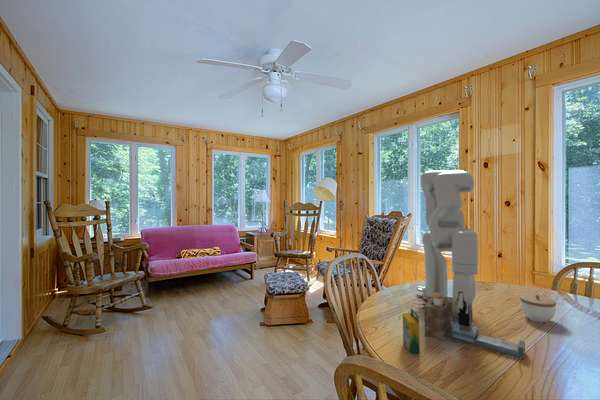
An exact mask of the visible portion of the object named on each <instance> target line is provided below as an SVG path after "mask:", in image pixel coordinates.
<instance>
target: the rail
mask: <svg viewBox="0 0 600 400" xmlns="http://www.w3.org/2000/svg"><path fill="white" fill-rule="evenodd" d="M453 329H454V327H453V326H452V327H449V328H448V330H447V331H446V338H445V339H449V340H453V341H456V342H460V343H464V344H466V345H469V346H473V347H477V348H480V349H484V350H487V351H492V352H495V353H498V354H502V355H506V356H508V355H509V357H512V356H513V357H512V358H515V357H517V358H516V359H519V358H521V359H520V360H522V359H523V360H524V359H525V354H526V341H524V340H519V343H513V342H510V341H506V340H502V339H498V338H495V337H490V336H486V335H483V334H479V333H478V334H477V335H476V337H475V338H474V343H473V342H470V341H466V340H462V339H459V338H455V337H453Z"/></svg>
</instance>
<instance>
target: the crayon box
mask: <svg viewBox="0 0 600 400" xmlns="http://www.w3.org/2000/svg"><path fill="white" fill-rule="evenodd" d="M415 311H416V310H415V309H413V307H410V313H407V312H405V313H402V338H403V339H402V342H403V345H405V346H404V347H406V349H407V350H408V352H409V353H410V355H420V354H421V346H420V345H421V344H420V343H421V341H420V339H421V338H420V316H419V314H418V313H416V312H415Z"/></svg>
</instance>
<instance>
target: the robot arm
mask: <svg viewBox="0 0 600 400" xmlns="http://www.w3.org/2000/svg"><path fill="white" fill-rule="evenodd" d="M420 184H421V185H420V186H421V189H422V192H423V195H424V197H425V223H426V226H427V227H428V229H429V230H428V231H427V232H424V233H423V235H422V244H423V251H424V273H425V275H424V282H425V286H421V285H417V286H416V290H417V291H418V292H422V293H421V296H424V297H422V298H426V297H433V293H442V294H443V297H451V298H452V301H453V303H456V302H457V301H458V316H457V317H458V322H457V324H458V323H459V324H460V325H464V326H468V327H469V326H470V314H468V307H469V305H470V304H471V305H472V306H473V302H474V301H475V299H476V275H478V274H479V258H478V257H479V254H478V249H479V248H478V247H479V246H478V245H479V244H478V242H479V241H478V234H477V232H475V231H473V230H472V229H471V228H468V227H465V216H464V215H465V214H464V211H463V210H462V207H463V200H462V196H461V194H462V193H463V194H467V193H471V192H472V191H473V189H474V187H475V179H474V178H473V175H472V174H471V173H470V172H469V171H466V170H462V169H453V170H452V169H451V170H450V169H448V170H447V169H445V170H444V169H443V170H439V169H438V170H428V171H426V172H423V173H422V174H421V175H420ZM444 252H446V253H447V252H448V253H449V252H450V253H451V272H452V273H453V280H452V296H451V295H449V294H448V293H449V291H448V286H449V285H448V260H447V258H446V257H445V255H443V254H442V253H444ZM427 299H428V298H427ZM464 302H466V304H464ZM464 306H466V308H465V307H464ZM473 322H474V321H473V316H472V323H473Z"/></svg>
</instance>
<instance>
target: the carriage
mask: <svg viewBox="0 0 600 400" xmlns="http://www.w3.org/2000/svg"><path fill="white" fill-rule="evenodd" d="M464 304H466V302H464ZM464 307H465V308H466V306H464ZM468 314H470V326H469V327H468V326H464V325H460V324H459V323H458V322H457V324H456V325H455V326H454V327H453V328H454V329H453V337H455V338H459V339H462V340H466V341H470V342H473V343H474V338H475V337H476V335H477V334H479V327H477V326H473V322H472V317H473V304H472V305H471V304H470V305H469V307H468Z"/></svg>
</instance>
